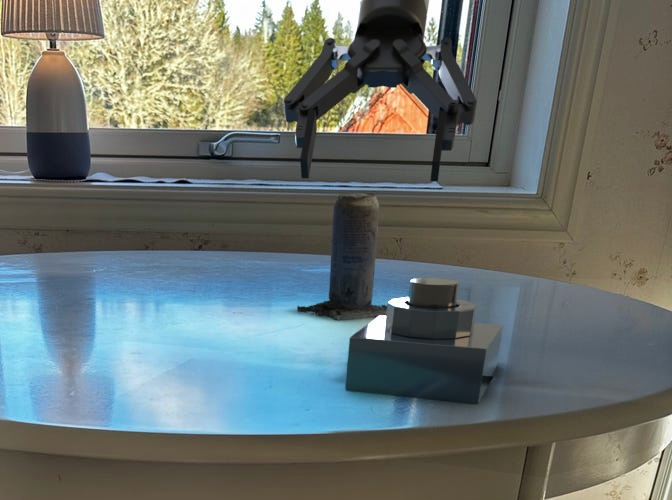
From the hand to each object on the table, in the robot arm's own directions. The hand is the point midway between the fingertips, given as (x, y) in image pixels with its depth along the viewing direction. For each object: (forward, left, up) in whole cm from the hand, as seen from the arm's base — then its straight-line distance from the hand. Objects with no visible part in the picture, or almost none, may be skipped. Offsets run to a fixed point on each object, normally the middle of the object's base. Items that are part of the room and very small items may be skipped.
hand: (368, 170), depth 100 cm
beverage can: (-1, +9, -14) cm, 16 cm away
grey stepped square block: (-13, +33, -14) cm, 38 cm away
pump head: (-13, +33, -8) cm, 36 cm away
